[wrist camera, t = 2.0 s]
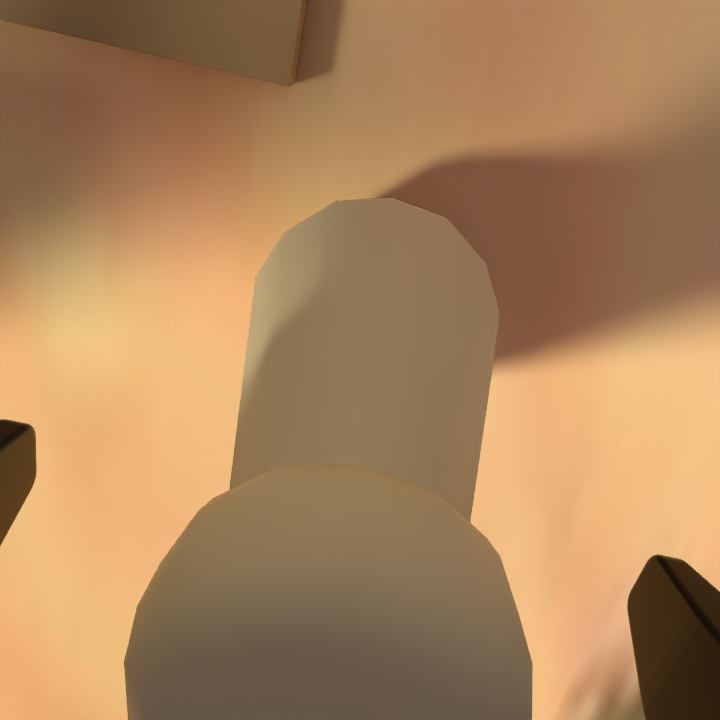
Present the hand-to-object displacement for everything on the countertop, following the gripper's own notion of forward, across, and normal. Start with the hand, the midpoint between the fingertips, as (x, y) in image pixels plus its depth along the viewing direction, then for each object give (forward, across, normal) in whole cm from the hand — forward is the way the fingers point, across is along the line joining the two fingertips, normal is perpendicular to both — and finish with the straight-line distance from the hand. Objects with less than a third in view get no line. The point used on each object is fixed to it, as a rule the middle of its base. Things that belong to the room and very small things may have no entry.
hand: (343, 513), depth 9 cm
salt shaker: (+10, 0, 0) cm, 10 cm away
